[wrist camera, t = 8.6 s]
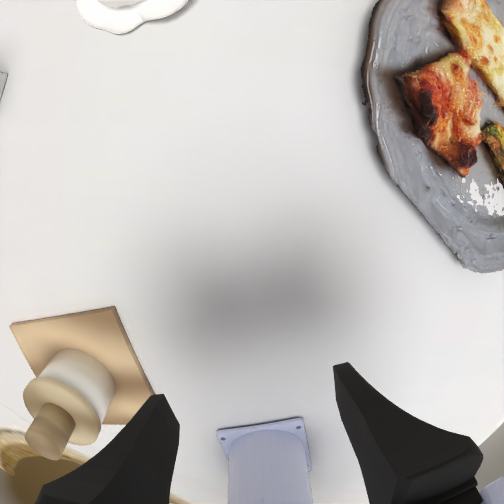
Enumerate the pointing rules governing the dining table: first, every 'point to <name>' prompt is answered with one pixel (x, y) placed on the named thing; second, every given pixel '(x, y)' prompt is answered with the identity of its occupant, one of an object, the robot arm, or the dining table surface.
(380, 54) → the food plate
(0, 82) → the skincare box
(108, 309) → the square wooden coaster
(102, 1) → the rose
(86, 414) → the lid
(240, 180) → the dining table surface
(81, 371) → the jar
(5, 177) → the dining table surface
